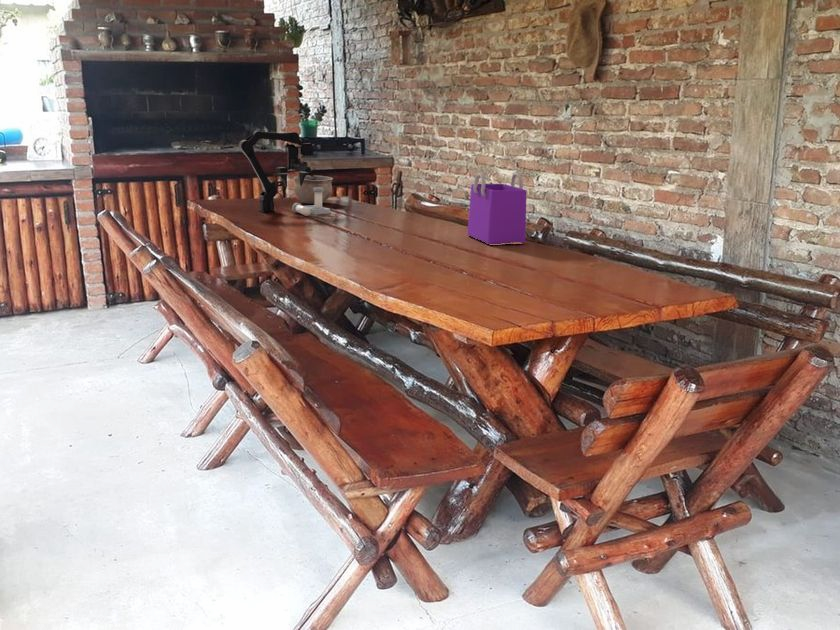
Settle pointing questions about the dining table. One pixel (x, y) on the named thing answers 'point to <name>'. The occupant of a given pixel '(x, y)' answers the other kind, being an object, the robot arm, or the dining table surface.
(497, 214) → the shopping bag
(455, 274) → the dining table surface
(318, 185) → the ceramic bowl
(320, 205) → the translucent upright cylinder
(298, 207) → the white plastic cylinder
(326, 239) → the dining table surface
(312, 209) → the housing
